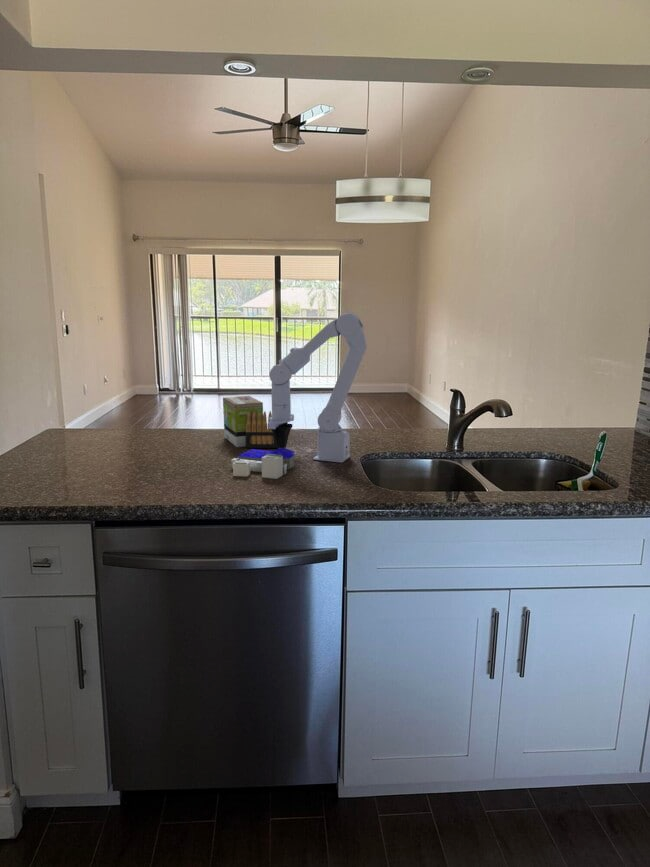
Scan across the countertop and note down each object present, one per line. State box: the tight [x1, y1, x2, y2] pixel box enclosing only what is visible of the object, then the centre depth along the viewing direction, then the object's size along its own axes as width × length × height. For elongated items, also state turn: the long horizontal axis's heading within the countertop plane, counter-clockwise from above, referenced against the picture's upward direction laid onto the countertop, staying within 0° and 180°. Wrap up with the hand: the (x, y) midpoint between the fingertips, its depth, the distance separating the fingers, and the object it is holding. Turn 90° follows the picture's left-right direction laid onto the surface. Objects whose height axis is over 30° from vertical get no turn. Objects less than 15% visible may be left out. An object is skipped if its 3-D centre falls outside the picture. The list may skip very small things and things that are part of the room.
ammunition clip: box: [244, 410, 279, 449], centre depth 191 cm, size 11×2×12 cm, turn 91°
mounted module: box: [261, 454, 284, 480], centre depth 159 cm, size 4×4×6 cm
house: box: [237, 447, 295, 470], centre depth 170 cm, size 11×15×5 cm
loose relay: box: [232, 461, 251, 477], centre depth 160 cm, size 4×3×4 cm
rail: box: [230, 457, 288, 476], centre depth 164 cm, size 16×2×3 cm, turn 70°
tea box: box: [222, 395, 264, 448], centre depth 198 cm, size 15×10×15 cm, turn 25°
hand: (282, 447), depth 180 cm, fingers closed
